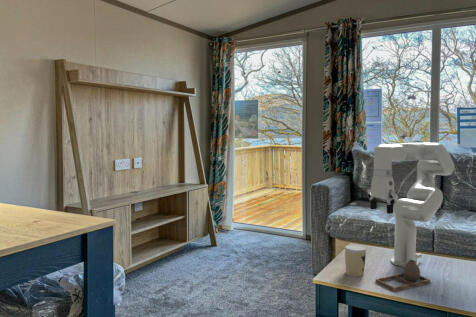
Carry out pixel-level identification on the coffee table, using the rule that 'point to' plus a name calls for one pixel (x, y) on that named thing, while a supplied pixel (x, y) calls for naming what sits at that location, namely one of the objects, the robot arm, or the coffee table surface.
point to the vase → (411, 271)
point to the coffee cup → (355, 260)
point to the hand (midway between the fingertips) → (381, 211)
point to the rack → (398, 278)
